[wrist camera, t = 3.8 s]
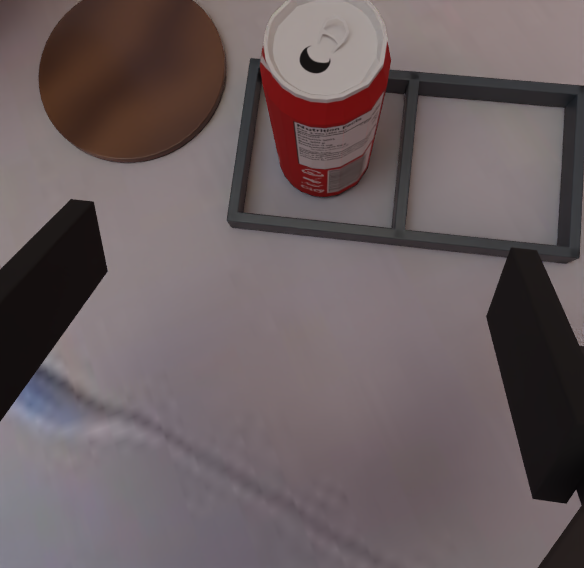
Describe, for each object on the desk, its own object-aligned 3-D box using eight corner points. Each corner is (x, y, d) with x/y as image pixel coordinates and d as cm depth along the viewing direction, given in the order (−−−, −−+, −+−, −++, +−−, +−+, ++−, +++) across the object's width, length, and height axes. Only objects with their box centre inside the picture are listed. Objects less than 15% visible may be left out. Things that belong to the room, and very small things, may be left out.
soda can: (314, 97, 33) (310, -52, 21) (387, 145, 32) (424, 19, 20) (261, 166, 32) (226, 55, 21) (334, 216, 32) (341, 130, 20)
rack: (231, 227, 32) (226, 220, 30) (253, 71, 33) (250, 57, 32) (566, 263, 30) (580, 258, 29) (575, 99, 32) (588, 85, 30)
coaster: (9, 115, 34) (3, 110, 33) (100, -38, 35) (97, -45, 35) (169, 194, 32) (166, 191, 32) (259, 31, 34) (258, 26, 33)
